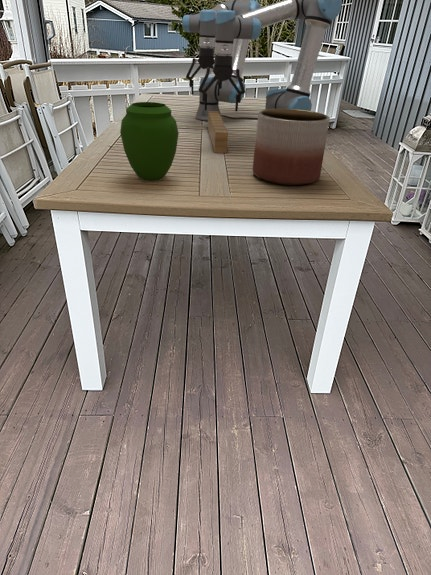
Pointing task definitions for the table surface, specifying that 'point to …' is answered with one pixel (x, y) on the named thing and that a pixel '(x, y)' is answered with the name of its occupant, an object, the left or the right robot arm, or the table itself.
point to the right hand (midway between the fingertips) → (221, 110)
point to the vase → (149, 139)
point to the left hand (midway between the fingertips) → (205, 95)
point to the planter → (290, 146)
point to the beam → (217, 132)
